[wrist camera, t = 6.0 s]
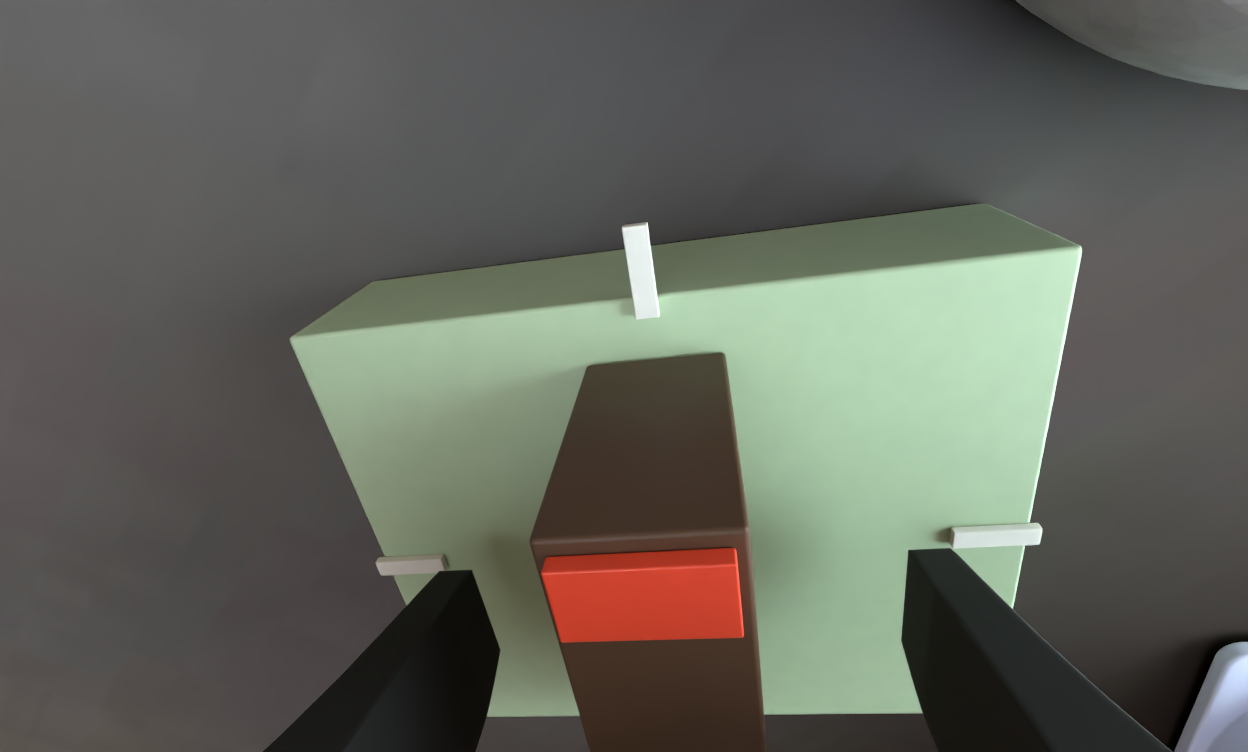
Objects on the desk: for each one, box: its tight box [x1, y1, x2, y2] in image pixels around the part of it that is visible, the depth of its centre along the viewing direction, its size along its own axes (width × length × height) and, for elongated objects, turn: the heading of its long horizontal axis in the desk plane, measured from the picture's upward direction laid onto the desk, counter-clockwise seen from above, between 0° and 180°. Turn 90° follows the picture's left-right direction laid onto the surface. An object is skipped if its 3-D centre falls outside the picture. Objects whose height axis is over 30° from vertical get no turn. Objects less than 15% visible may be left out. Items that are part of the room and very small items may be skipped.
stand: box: [290, 203, 1082, 717], centre depth 12 cm, size 12×12×3 cm
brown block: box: [529, 353, 767, 752], centre depth 9 cm, size 8×2×4 cm, turn 9°
